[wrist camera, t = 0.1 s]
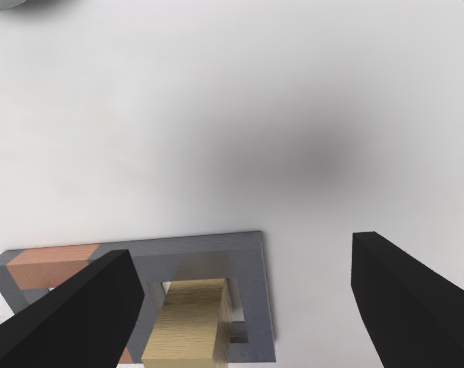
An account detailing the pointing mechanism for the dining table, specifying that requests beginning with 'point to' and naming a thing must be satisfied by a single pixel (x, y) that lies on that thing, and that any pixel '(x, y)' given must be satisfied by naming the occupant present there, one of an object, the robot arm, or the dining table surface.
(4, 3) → the air freshener
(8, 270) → the grey flat frame piece
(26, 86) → the dining table surface
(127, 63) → the dining table surface
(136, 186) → the dining table surface
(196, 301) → the light brown rectangular block
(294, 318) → the dining table surface
